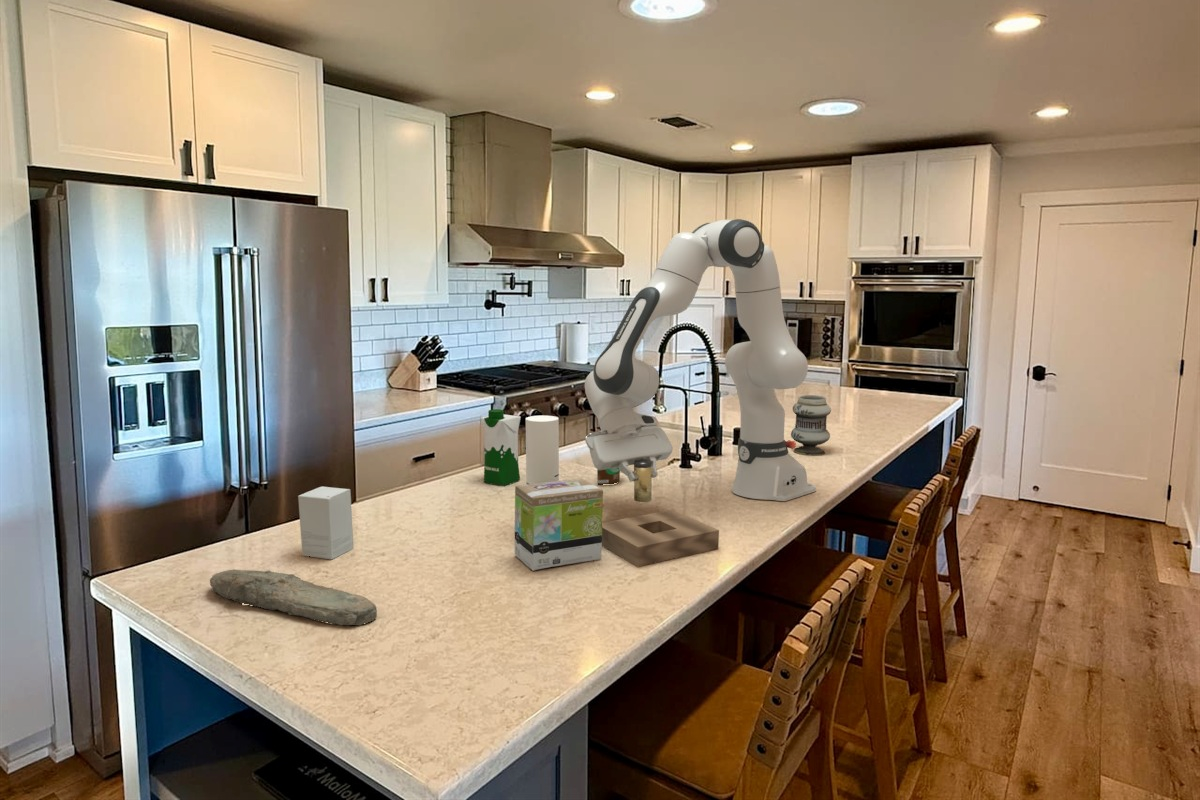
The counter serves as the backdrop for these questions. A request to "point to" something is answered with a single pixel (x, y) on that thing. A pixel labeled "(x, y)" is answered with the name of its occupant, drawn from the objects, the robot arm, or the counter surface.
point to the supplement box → (326, 522)
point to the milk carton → (500, 447)
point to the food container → (608, 476)
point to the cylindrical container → (542, 449)
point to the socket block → (658, 537)
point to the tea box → (558, 523)
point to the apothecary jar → (811, 424)
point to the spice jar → (643, 480)
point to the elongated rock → (293, 596)
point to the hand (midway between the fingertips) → (644, 478)
